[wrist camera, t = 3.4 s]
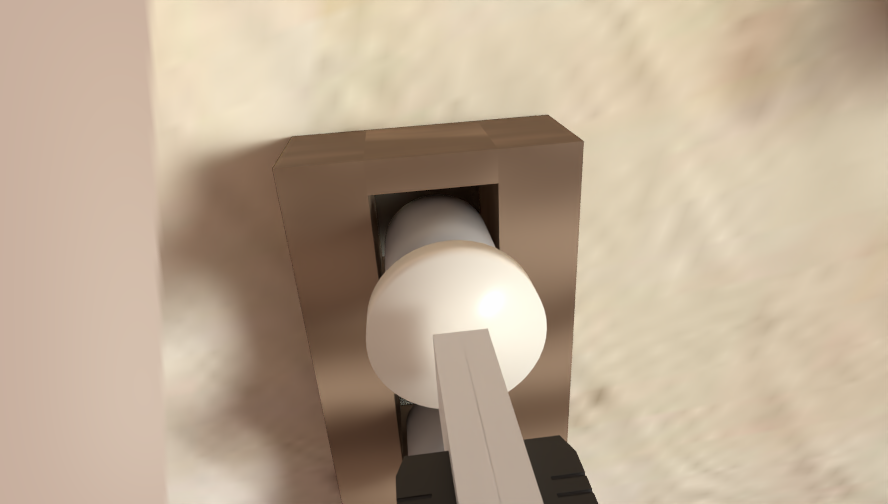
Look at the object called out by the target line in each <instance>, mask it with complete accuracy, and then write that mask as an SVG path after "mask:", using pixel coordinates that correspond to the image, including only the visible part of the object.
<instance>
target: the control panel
mask: <svg viewBox="0 0 888 504" xmlns="http://www.w3.org/2000/svg"><path fill="white" fill-rule="evenodd" d="M583 146H584V141H583V140H581V139H580V138H579V137H577V136H576V135H575V134H573V133H572V132H571V131H569V130H568V129H567V128H565V127H564V126H562V125H561V124H560V123H558V122H557V121H556V120H554V119H553V118H552V117H550V116H549V115H541V116H529V117H518V118H506V119H494V120H482V121H470V122H458V123H447V124H435V125H423V126H411V127H399V128H387V129H376V130H364V131H352V132H340V133H328V134H316V135H304V136H293V137H291V139H290V141H289V142H288V144H287V146H286V147H285V149H284V150H283V152H282V154H281V155H280V157H279V159H278V160H277V162H276V164H275V165H274V167H273V168H272V170H273V175H274V179H275V184H276V189H277V194H278V199H279V203H280V208H281V213H282V218H283V223H284V227H285V232H286V237H287V242H288V247H289V251H290V256H291V261H292V266H293V270H294V275H295V280H296V285H297V290H298V294H299V299H300V304H301V309H302V314H303V318H304V323H305V328H306V333H307V338H308V342H309V347H310V352H311V357H312V362H313V366H314V371H315V376H316V381H317V385H318V390H319V395H320V400H321V405H322V409H323V414H324V419H325V424H326V429H327V433H328V438H329V443H330V448H331V453H332V457H333V462H334V467H335V472H336V476H337V481H338V486H339V491H340V496H341V500H342V504H396V503H397V500H396V474H397V472H398V470H399V467H400V465H401V463H402V460H403V458H404V456H408V444H407V427H406V421H407V416H408V413H409V411H410V409H411V408H412V406H413V405H414V404H412V405H404V406H401V405H400V397H399V396H398V395H397V394H395V393H394V392H393V391H391V390H390V389H389V388H388V387H387V386H386V385H385V384H384V383H383V382H382V381H381V380H380V379H379V377H378V376H377V374H376V373H375V371H374V369H373V368H372V365H371V363H370V360H369V357H368V353H367V348H366V325H367V310H368V304H369V300H370V297H371V295H372V292H373V290H374V288H375V286H376V284H377V283H378V281H379V279H380V278H381V277H382V275H383V274H384V273H385V257H382V252H381V244H380V236H379V228H378V220H377V212H376V204H375V196H374V195H378V194H389V193H399V192H410V191H421V190H432V189H443V188H453V187H464V186H475V185H479V188H480V215H481V217H482V219H483V221H484V223H485V225H486V227H487V230H488V232H489V234H490V236H491V239H492V241H493V243H494V245H495V248H497V249H499V250H501V251H503V252H504V253H506V254H507V255H509V256H510V257H512V258H513V259H514V260H515V261H516V262H517V263H518V264H519V265H520V266H521V267H522V268H523V270H524V271H525V272H526V273H527V275H528V277H529V279H530V280H531V282H532V284H533V286H534V288H535V290H536V292H537V294H538V296H539V298H540V300H541V302H542V305H543V307H544V310H545V315H546V322H547V332H546V340H545V344H544V348H543V350H542V353H541V355H540V358H539V359H538V361H537V363H536V364H535V366H534V368H533V369H532V370H531V371H530V373H529V374H528V375H527V376H526V377H525V378H524V379H523V380H522V381H521V382H520V383H519V384H518V385H517V386H515V387H514V388H513V389H512V390H510V391H509V392H508V394H509V397H510V400H511V403H512V406H513V409H514V412H515V416H516V419H517V422H518V425H519V428H520V431H521V434H522V438H523V440H525V439H533V438H540V437H548V436H556V435H560V436H561V437H562V438H563V439H564V440H565V441H566V442H567V435H568V417H569V399H570V381H571V363H572V345H573V327H574V309H575V290H576V272H577V254H578V236H579V218H580V200H581V182H582V164H583Z"/></svg>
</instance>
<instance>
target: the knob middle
mask: <svg viewBox="0 0 888 504" xmlns="http://www.w3.org/2000/svg"><path fill="white" fill-rule="evenodd" d="M406 427H407V444H408V456H411V455H419V454H426V453H434V452H442V451H445V450H444V443H443V436H442V429H441V422H440V415H439V409H436V408H429V407H425V406H421V405H418V404H414V405H413V406H412V408H411V409H410V411H409V413H408V416H407V421H406Z"/></svg>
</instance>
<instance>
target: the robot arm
mask: <svg viewBox="0 0 888 504" xmlns="http://www.w3.org/2000/svg"><path fill="white" fill-rule="evenodd" d="M433 346H434V358H435V370H436V382H437V394H438V406H439V415H440V422H441V429H442V436H443V443H444V450H445V451H442V452H434V453H426V454H419V455H411V456H404V458H403V460H402V463H401V465H400V467H399V470H398V472H397V474H396V500H397V503H396V504H598V502H597V500H596V497H595V495H594V493H593V492H592V488H591V485H590V483H589V481H588V478H587V476H585V471H584V469H583V467H582V464H581V462H580V460H579V457H578V455H577V453H576V451H575V450H574V449H573V448H572V447H571V446H570V445H569V444H568V443H567V442H566V441H565V440H564V439H563V438H562V437H561V436H560V435H556V436H548V437H540V438H533V439H525V440H523V438H522V434H521V431H520V428H519V425H518V422H517V419H516V416H515V412H514V409H513V406H512V403H511V400H510V397H509V394H508V391H507V387H506V384H505V381H504V378H503V375H502V372H501V369H500V365H499V362H498V359H497V356H496V353H495V350H494V347H493V344H492V340H491V337H490V334H489V331H488V328H487V329H478V330H469V331H460V332H451V333H442V334H433Z"/></svg>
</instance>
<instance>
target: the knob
mask: <svg viewBox="0 0 888 504" xmlns="http://www.w3.org/2000/svg"><path fill="white" fill-rule="evenodd" d="M487 328H488V331H489V334H490V337H491V340H492V344H493V347H494V350H495V353H496V356H497V359H498V362H499V365H500V369H501V372H502V375H503V378H504V381H505V384H506V387H507V391H508V392H509V391H510V390H512V389H513V388H514V387H515V386H517V385H518V384H519V383H520V382H521V381H522V380H523V379H524V378H525V377H526V376H527V375H528V374H529V373H530V371H531V370H532V369H533V368H534V366H535V364H536V363H537V361H538V359H539V358H540V355H541V353H542V350H543V348H544V344H545V340H546V332H547V322H546V315H545V310H544V307H543V305H542V302H541V300H540V298H539V296H538V294H537V292H536V290H535V288H534V286H533V284H532V282H531V280H530V279H529V277H528V275H527V273H526V272H525V271H524V270H523V268H522V267H521V266H520V265H519V264H518V263H517V262H516V261H515V260H514V259H513V258H512V257H510V256H509V255H507V254H506V253H504V252H503V251H501V250H499V249H497V248H495V245H494V243H493V241H492V239H491V236H490V234H489V232H488V230H487V227H486V225H485V223H484V221H483V219H482V217H481V215H480V214H479V213H478V212H477V210H476V209H475V208H473V207H472V206H471V205H470V204H468V203H467V202H465V201H463V200H462V199H459V198H457V197H454V196H449V195H441V194H436V195H427V196H423V197H420V198H417V199H415V200H413V201H411V202H409V203H408V204H406V205H405V206H403V207H402V208H401V209H400V210H399V211H398V212H397V213H396V214H395V216H394V217H393V218H392V220H391V222H390V223H389V226H388V228H387V231H386V235H385V273H384V274H383V275H382V277H381V278H380V279H379V281H378V283H377V284H376V286H375V288H374V290H373V292H372V295H371V297H370V300H369V304H368V310H367V325H366V348H367V353H368V357H369V360H370V363H371V365H372V368H373V369H374V371H375V373H376V374H377V376H378V377H379V379H380V380H381V381H382V382H383V383H384V384H385V385H386V386H387V387H388V388H389V389H390V390H391V391H393V392H394V393H395V394H397V395H398V396H400V397H402V398H404V399H406V400H408V401H410V402H412V403H415V404H418V405H421V406H425V407H429V408H436V409H439V406H438V394H437V382H436V370H435V358H434V346H433V334H442V333H451V332H460V331H469V330H478V329H487Z"/></svg>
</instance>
